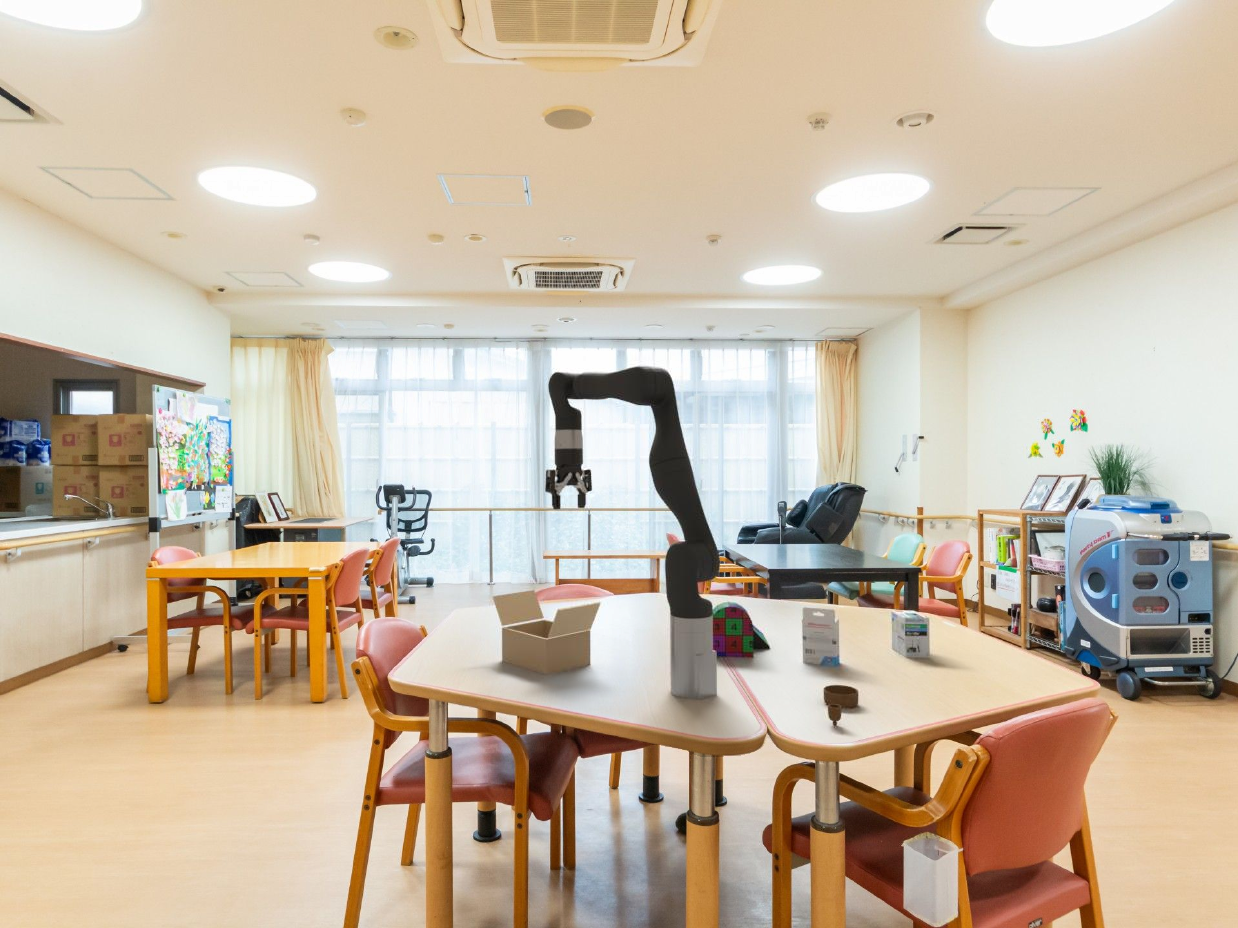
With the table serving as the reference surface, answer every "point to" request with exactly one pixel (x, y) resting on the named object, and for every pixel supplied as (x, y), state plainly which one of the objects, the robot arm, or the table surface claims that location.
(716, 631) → the toy block train
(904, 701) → the table surface
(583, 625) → the near flap
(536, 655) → the carton
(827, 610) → the ink box
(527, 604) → the far flap
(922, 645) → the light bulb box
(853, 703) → the place setting
